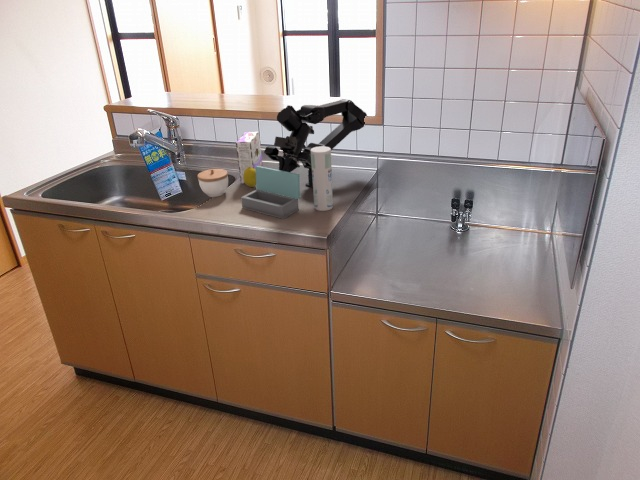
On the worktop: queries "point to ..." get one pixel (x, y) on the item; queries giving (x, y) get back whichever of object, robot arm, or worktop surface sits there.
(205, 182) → the lidded jar
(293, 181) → the lid
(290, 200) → the grey rectangular box
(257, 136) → the candy box
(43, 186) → the worktop surface
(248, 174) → the lemon
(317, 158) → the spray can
